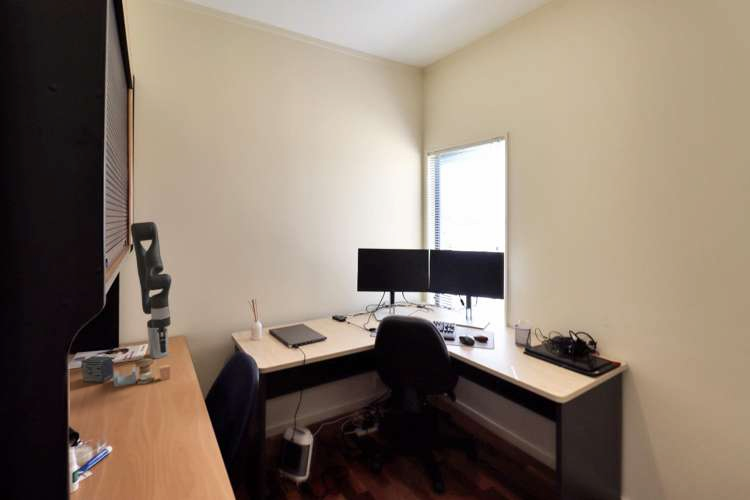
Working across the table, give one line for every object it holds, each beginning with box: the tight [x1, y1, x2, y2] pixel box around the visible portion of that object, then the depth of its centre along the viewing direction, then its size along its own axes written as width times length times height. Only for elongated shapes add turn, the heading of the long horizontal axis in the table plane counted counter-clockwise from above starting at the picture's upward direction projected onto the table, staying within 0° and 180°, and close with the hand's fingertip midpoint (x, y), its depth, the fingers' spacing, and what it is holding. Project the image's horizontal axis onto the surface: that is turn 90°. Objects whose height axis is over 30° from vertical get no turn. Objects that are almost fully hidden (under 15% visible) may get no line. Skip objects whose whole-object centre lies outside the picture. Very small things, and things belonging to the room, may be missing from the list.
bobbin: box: [135, 357, 155, 385], centre depth 169 cm, size 7×7×10 cm
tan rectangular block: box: [159, 364, 171, 382], centre depth 172 cm, size 3×4×6 cm
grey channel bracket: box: [112, 366, 137, 388], centre depth 168 cm, size 8×8×4 cm
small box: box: [81, 355, 114, 384], centre depth 170 cm, size 11×6×10 cm, turn 84°
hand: (163, 349), depth 170 cm, fingers open, 8 cm apart
